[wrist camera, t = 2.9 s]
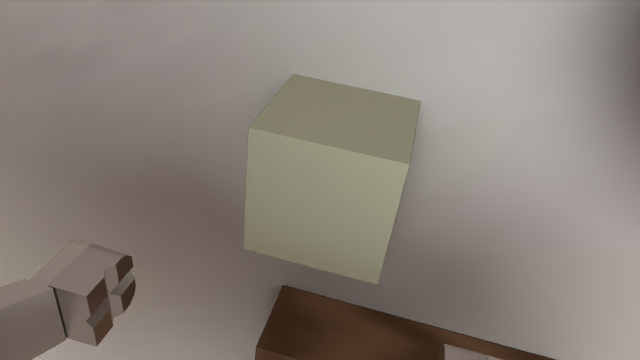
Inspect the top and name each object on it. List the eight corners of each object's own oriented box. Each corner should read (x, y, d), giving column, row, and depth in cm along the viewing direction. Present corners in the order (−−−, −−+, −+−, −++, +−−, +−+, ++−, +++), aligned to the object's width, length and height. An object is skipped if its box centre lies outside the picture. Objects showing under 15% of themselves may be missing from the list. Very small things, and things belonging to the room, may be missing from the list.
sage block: (284, 178, 22) (243, 249, 17) (294, 73, 19) (248, 127, 15) (393, 205, 21) (377, 285, 17) (420, 100, 18) (409, 164, 14)
